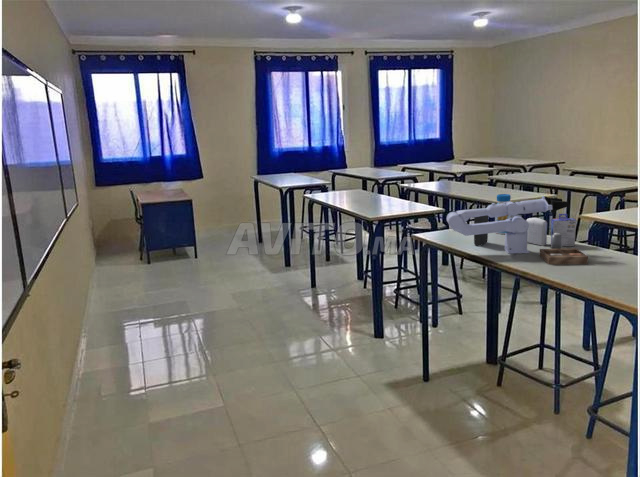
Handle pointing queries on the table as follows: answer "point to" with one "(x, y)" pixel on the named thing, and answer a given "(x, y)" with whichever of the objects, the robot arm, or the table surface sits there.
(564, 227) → the ink cartridge box
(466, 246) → the table surface
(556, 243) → the plug
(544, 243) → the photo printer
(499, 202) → the beverage bottle
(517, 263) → the table surface
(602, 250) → the table surface
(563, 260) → the socket board
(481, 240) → the black upright block
